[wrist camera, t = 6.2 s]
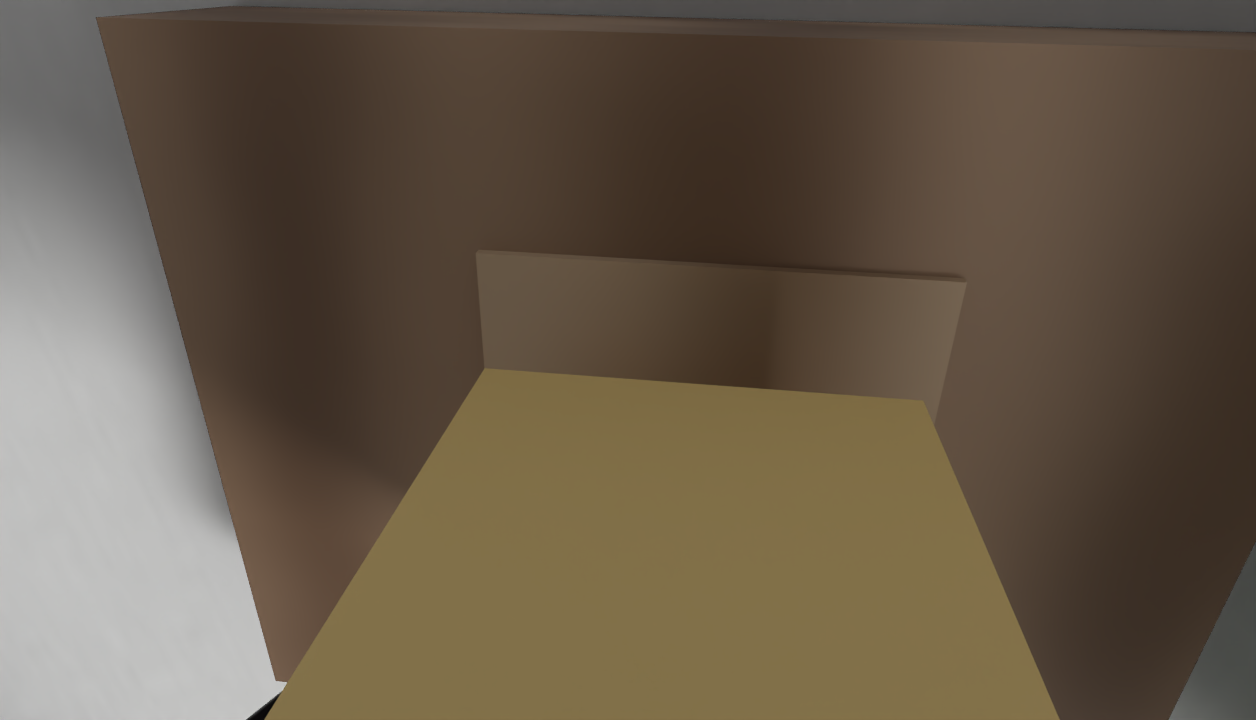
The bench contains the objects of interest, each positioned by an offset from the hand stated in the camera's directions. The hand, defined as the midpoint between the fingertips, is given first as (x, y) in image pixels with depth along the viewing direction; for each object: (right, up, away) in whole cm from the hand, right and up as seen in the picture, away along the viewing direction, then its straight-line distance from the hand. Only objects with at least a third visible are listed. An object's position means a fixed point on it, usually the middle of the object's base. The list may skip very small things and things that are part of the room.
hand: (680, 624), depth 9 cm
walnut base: (+1, +3, +5) cm, 6 cm away
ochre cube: (0, +1, +1) cm, 1 cm away
